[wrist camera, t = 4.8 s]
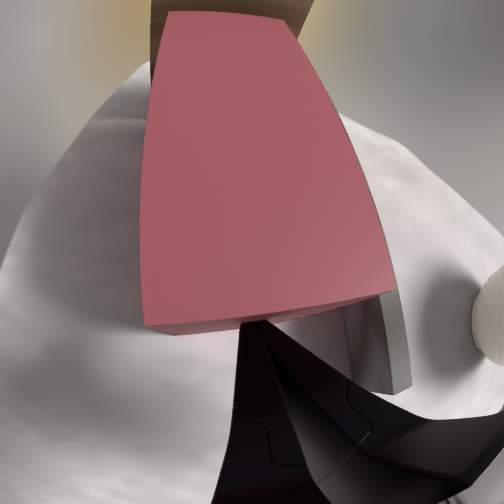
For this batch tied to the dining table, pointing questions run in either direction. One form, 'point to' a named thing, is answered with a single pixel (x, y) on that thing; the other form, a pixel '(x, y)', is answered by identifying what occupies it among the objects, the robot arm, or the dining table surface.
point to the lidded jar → (490, 318)
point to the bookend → (385, 305)
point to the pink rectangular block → (248, 184)
